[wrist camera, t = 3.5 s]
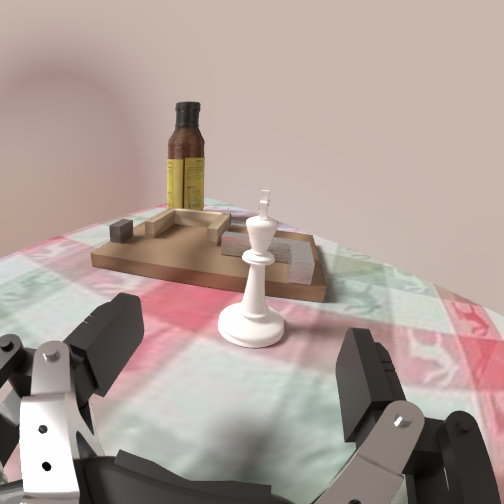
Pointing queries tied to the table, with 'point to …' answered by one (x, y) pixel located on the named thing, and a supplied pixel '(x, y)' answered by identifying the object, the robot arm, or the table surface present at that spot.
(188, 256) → the socket board
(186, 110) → the sauce bottle
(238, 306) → the chess piece
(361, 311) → the table surface
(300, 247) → the keeper bolt
